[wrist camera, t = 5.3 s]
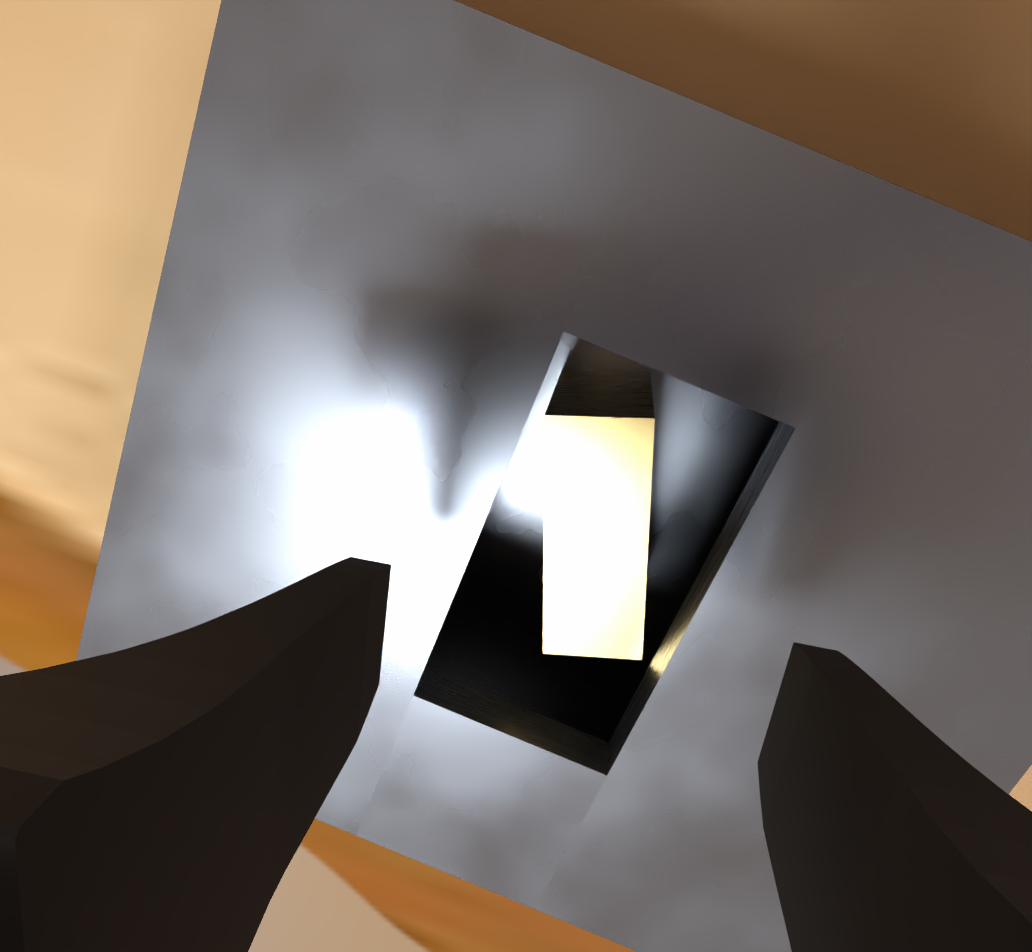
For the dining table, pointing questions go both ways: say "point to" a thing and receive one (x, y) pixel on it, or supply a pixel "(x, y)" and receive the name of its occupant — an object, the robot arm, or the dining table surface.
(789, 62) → the dining table surface
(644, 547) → the block
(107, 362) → the dining table surface
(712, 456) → the coin box
